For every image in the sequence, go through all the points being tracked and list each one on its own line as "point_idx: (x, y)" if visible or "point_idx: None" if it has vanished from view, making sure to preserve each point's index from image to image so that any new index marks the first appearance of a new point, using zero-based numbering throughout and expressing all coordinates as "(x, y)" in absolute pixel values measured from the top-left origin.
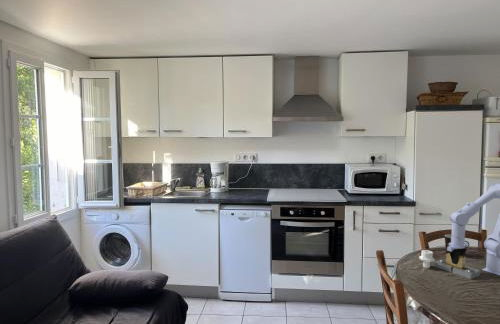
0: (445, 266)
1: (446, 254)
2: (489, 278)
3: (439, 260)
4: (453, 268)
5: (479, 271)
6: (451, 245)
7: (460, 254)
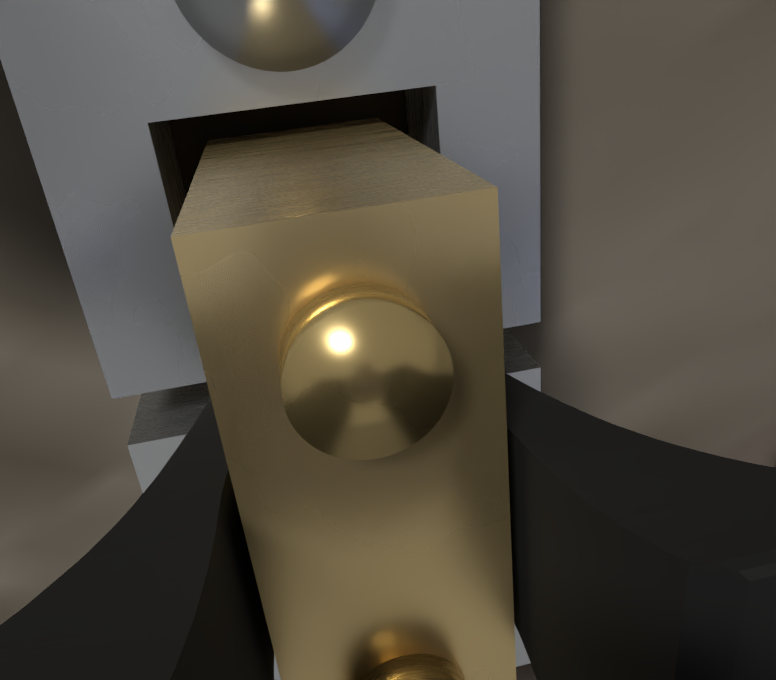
0: (70, 247)
1: (180, 249)
2: (525, 677)
3: None
4: (132, 452)
5: (519, 653)
6: None
7: (546, 647)
